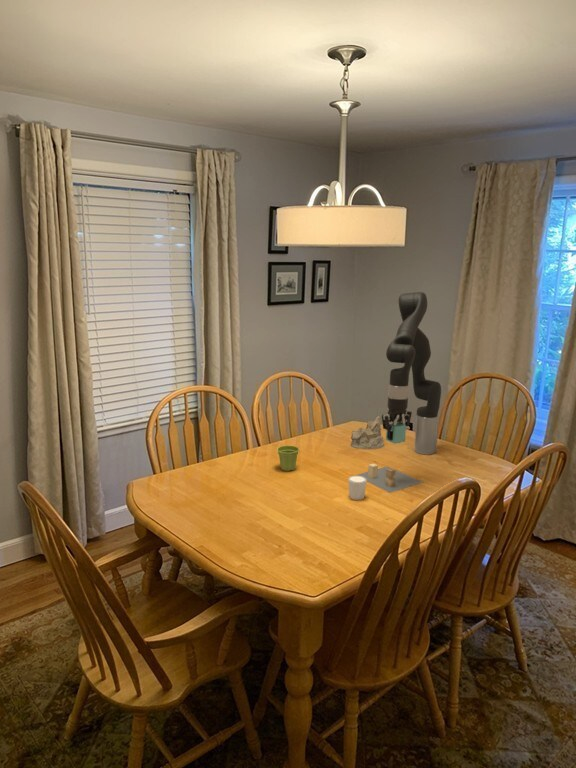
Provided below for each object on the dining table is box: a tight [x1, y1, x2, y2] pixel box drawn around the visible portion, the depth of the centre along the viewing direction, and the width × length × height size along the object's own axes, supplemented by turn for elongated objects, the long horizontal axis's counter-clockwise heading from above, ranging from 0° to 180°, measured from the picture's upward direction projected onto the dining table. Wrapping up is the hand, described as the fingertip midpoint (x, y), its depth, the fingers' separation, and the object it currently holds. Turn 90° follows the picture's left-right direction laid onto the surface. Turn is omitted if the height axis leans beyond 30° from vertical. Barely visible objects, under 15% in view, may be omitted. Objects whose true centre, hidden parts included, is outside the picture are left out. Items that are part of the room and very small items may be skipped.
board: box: [354, 463, 424, 494], centre depth 222 cm, size 18×20×6 cm
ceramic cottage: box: [350, 416, 385, 450], centre depth 265 cm, size 16×16×15 cm
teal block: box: [385, 422, 407, 445], centre depth 217 cm, size 5×5×7 cm
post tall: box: [385, 467, 397, 487], centre depth 216 cm, size 3×3×6 cm
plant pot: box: [276, 445, 300, 472], centre depth 235 cm, size 9×9×9 cm
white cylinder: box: [347, 475, 367, 501], centre depth 208 cm, size 7×7×7 cm
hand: (395, 438), depth 218 cm, fingers closed on teal block, 5 cm apart
